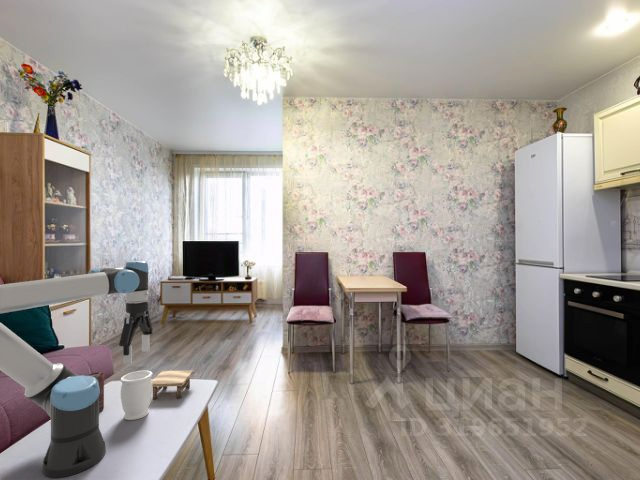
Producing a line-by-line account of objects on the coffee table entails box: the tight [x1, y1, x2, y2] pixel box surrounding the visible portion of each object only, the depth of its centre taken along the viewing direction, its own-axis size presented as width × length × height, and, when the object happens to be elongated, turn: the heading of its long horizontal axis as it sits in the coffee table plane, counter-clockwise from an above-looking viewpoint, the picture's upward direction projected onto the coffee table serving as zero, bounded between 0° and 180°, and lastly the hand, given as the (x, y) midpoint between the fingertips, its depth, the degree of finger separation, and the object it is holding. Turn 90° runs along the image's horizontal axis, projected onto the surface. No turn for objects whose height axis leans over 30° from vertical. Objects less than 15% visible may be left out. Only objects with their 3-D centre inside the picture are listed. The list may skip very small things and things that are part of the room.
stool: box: [151, 369, 195, 400], centre depth 142 cm, size 14×14×7 cm
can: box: [87, 372, 105, 413], centre depth 127 cm, size 6×6×14 cm
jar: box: [120, 369, 153, 421], centre depth 124 cm, size 11×10×15 cm
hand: (137, 357), depth 124 cm, fingers open, 13 cm apart
